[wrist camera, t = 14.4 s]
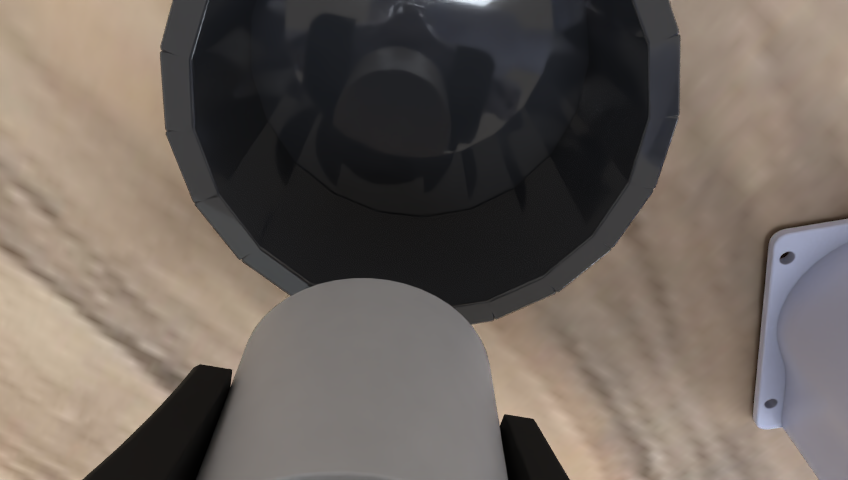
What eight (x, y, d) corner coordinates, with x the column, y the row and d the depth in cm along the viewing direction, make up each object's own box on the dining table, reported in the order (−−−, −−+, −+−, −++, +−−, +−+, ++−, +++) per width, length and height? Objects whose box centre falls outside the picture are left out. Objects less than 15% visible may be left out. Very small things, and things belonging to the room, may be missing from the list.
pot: (613, 195, 21) (678, 292, 16) (293, 250, 22) (256, 359, 17) (596, -201, 16) (685, -249, 11) (174, -108, 17) (66, -110, 12)
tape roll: (505, 449, 15) (543, 677, 10) (284, 482, 15) (234, 712, 11) (469, 255, 12) (499, 451, 8) (205, 301, 13) (96, 511, 8)
